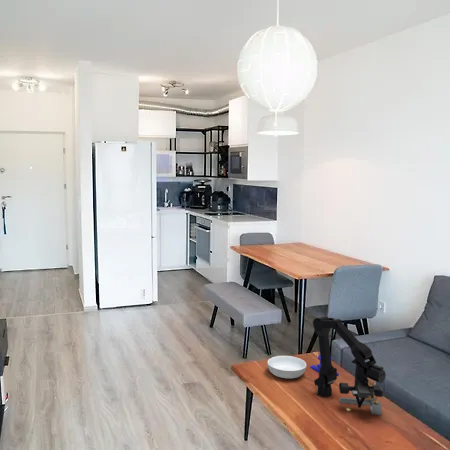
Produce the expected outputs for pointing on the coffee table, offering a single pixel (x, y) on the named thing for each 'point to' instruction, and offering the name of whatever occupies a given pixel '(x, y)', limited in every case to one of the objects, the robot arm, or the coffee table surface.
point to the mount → (319, 365)
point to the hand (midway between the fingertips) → (359, 407)
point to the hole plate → (353, 402)
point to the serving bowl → (286, 366)
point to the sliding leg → (375, 407)
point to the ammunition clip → (371, 386)
